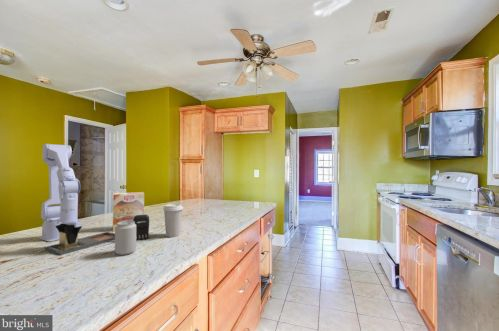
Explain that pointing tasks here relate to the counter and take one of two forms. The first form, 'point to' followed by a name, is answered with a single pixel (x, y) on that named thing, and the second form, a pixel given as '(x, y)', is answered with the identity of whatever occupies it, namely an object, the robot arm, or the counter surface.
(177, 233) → the coffee cup
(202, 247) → the counter surface
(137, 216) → the battery charger
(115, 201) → the coffeecake box
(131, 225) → the can
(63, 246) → the brass block
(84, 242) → the gray rectangular frame
